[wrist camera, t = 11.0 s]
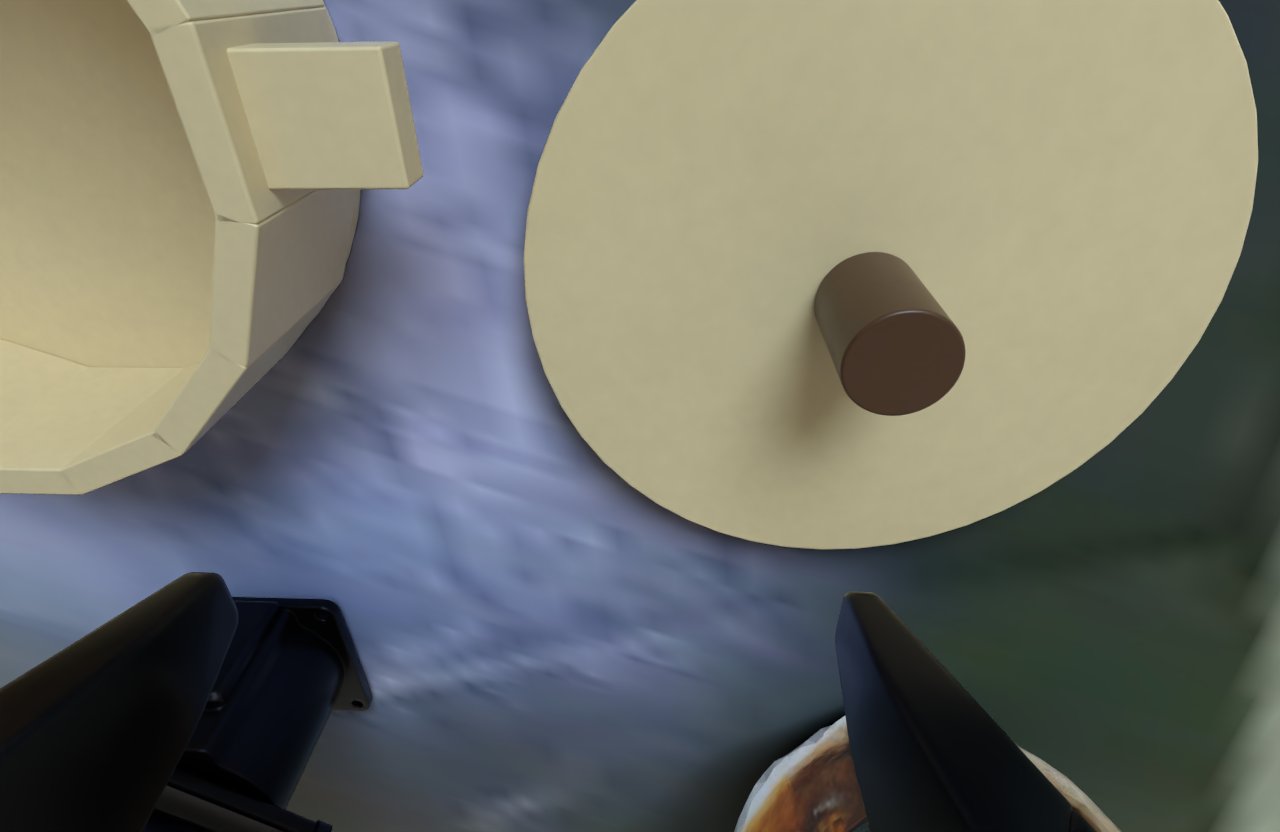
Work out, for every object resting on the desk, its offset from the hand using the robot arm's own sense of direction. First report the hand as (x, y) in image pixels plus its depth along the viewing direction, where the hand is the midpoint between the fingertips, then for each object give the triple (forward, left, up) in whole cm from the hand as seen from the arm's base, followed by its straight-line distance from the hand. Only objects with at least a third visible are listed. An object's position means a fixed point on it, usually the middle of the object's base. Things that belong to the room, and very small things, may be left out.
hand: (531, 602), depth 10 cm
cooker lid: (0, -7, -10) cm, 12 cm away
